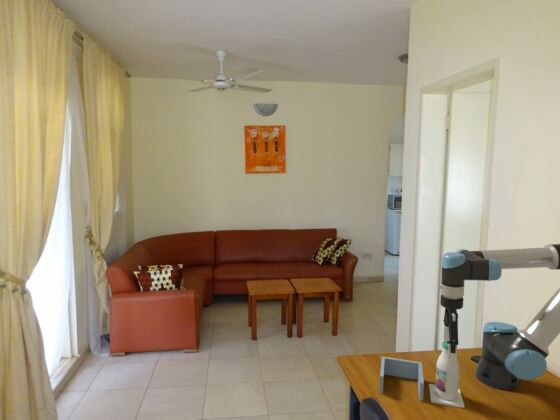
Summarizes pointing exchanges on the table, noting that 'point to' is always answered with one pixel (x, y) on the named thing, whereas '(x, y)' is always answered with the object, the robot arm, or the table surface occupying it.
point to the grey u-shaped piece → (402, 372)
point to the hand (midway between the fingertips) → (449, 351)
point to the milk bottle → (446, 376)
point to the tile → (436, 399)
